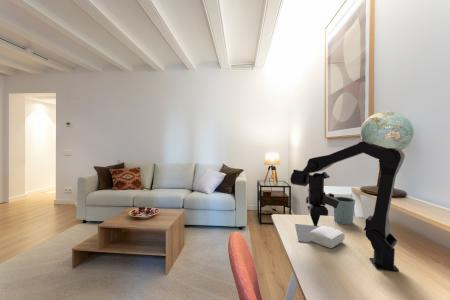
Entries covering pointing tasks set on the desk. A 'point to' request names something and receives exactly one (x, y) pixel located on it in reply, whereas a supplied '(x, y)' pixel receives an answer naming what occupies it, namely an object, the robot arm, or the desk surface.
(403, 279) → the desk surface
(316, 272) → the desk surface
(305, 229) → the mat
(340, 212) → the grey-blue cup
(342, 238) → the photo printer
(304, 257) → the desk surface
